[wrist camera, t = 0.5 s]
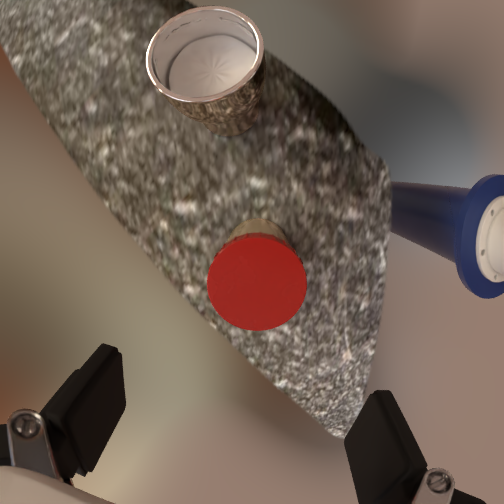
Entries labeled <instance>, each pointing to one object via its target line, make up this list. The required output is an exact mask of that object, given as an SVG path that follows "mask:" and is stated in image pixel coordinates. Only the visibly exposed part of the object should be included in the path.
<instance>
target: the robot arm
mask: <svg viewBox="0 0 504 504" xmlns="http://www.w3.org/2000/svg"><path fill="white" fill-rule="evenodd" d="M476 258H477V263H478V266H479V269H480V271H481V273H482V274H483V275H484V277H485V278H487V279H489V280H490V281H492V282H502V281H504V196H499V197H497V198H495V199H494V200H493V201H491V203H490V204H489V205H488V206H487V208H486V210H485V211H484V213H483V215H482V218H481V220H480V223H479V227H478V231H477V236H476ZM125 406H126V398H125V388H124V378H123V366H122V354H121V353H119V352H118V349H117V348H116V347H113V346H110V345H107V344H104V343H103V344H101V345H100V346H99V347H98V349H97V350H96V351H95V352H94V353H93V354H92V355H91V357H90V358H89V359H88V360H87V361H86V362H85V364H84V365H83V366H82V367H81V368H80V369H77V370H75V371H74V372H73V373H72V374H71V375H70V376H69V378H68V379H67V380H66V381H65V383H64V384H63V385H62V386H61V387H60V388H59V390H58V391H57V392H56V393H55V394H54V396H53V397H52V398H51V399H50V400H49V402H48V403H47V404H46V405H45V407H44V408H43V409H42V410H41V412H40V413H37V412H36V411H34V410H31V409H20V410H17V411H15V412H13V413H12V414H11V415H10V416H9V418H8V420H7V424H1V425H0V504H114V503H112V502H109V501H106V500H104V499H101V498H99V497H96V496H94V495H91V494H89V493H87V492H84V491H82V490H80V489H77V488H75V487H74V484H73V482H72V479H71V478H73V477H74V475H75V473H78V474H80V475H82V476H84V477H85V476H86V474H87V472H88V471H89V472H92V471H93V470H94V468H95V466H96V464H97V462H98V460H99V458H100V456H101V454H102V452H103V450H104V448H105V446H106V444H107V442H108V441H109V439H110V437H111V435H112V433H113V431H114V429H115V427H116V425H117V423H118V421H119V419H120V418H121V416H122V414H123V412H124V410H125ZM344 445H345V449H346V453H347V457H348V461H349V465H350V469H351V473H352V477H353V481H354V485H355V489H356V494H357V498H358V502H359V504H486V503H485V502H484V501H483V500H481V499H479V498H476V497H474V496H471V495H469V494H466V493H464V492H461V491H459V490H457V489H455V488H454V485H455V482H454V478H453V477H452V475H451V474H450V473H449V472H448V471H446V470H444V469H442V468H432V469H430V470H427V468H426V467H427V463H426V461H425V458H424V456H423V454H422V452H421V450H420V448H419V446H418V444H417V442H416V440H415V438H414V436H413V434H412V432H411V430H410V428H409V426H408V424H407V422H406V420H405V418H404V416H403V414H402V412H401V410H400V408H399V406H398V404H397V402H396V400H395V398H394V396H393V394H392V393H391V391H389V390H376V391H374V393H373V394H370V395H369V397H368V399H367V401H366V402H365V404H364V406H363V408H362V410H361V412H360V413H359V415H358V417H357V419H356V420H355V422H354V424H353V425H352V427H351V429H350V430H349V432H348V434H347V435H346V437H345V440H344Z"/></svg>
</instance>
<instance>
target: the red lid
mask: <svg viewBox="0 0 504 504" xmlns="http://www.w3.org/2000/svg"><path fill="white" fill-rule="evenodd" d="M302 264H303V262H302V260H301V258H299V257H298V255H297V253H296V251H295V249H294V248H292V247H291V246H290V245H289V244H288V243H286V242H285V240H282V239H280V238H279V237H276V236H274V234H272V235H271V234H267V233H261V232H259V233H248V232H247V233H246V234H243V235H240V236H238V237H236V236H235V237H234V239H232V240H230V241H229V242H228V243H226V244H224V245H223V247H222V248H221V250H220V251H219V252H218V253H216V255H215V257H214V261H213V263H212V264H211V266H210V267H209V273H208V277H207V290H208V295H209V298H210V301H211V303H212V305H213V307H214V308H215V310H216V311H217V312H218V314H219V315H220V316H221V317H222V318H223V319H225V320H226V321H227V322H229V323H230V324H232V325H234V326H236V327H239V328H242V329H246V330H253V331H261V330H268V329H272V328H275V327H278V326H280V325H282V324H284V323H285V322H287V321H288V320H289V319H291V318H292V317H293V316H294V315H295V314H296V312H297V311H298V310H299V308H300V307H301V305H302V303H303V301H304V298H305V295H306V290H307V279H306V276H307V275H306V273H305V270H304V267H303V265H302Z"/></svg>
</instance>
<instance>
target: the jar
mask: <svg viewBox="0 0 504 504" xmlns="http://www.w3.org/2000/svg"><path fill="white" fill-rule="evenodd" d="M247 232H248V233H259V232H261V233H267V234H271V235H272V234H274V236H276V237H279V238H280V239H282V240H285V242H286V243H288V244H289V242H288V240H287V238H286V236H285V234H284V232H283V231H282V230H281V228H280V227H279V226H277V225H276V224H275V223H273V222H271V221H269V220H266V219H260V218H255V219H249V220H246V221H244V222H242V223H240V224H239V225H238V226H237V227H236V228H235V229H234V230H233V231H232V232H231V234H230V236H229V238H228V240H227V242H226V243H228V242H229V241H230V240H232V239H234V237H235V236H236V237H238V236H240V235H243V234H246V233H247Z"/></svg>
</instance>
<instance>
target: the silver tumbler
mask: <svg viewBox="0 0 504 504" xmlns="http://www.w3.org/2000/svg"><path fill="white" fill-rule="evenodd" d="M146 69H147V73H148V76H149V78H150V80H151V82H152V83H153V85H154V86H155V87H156V88H157V89H158V90H159V91H160V92H161V93H162V94H163V96H164V97H165V98H166V99H167V100H168V102H169V103H170V104H172V105H173V106H174V107H175V108H176V109H177V110H178V111H179V112H181V113H182V114H184V115H185V116H187V117H189V118H190V119H192V120H195V121H198V122H201V123H203V124H204V125H205V127H206V128H207V129H208V130H210V131H211V132H213V133H214V134H217V135H220V136H236V135H239V134H242V133H244V132H245V131H247V130H248V129H249V128H250V127H251V126H252V125H253V124H254V122H255V121H256V119H257V116H258V113H259V103H258V100H259V98H260V96H261V94H262V92H263V89H264V84H265V79H266V61H265V54H264V44H263V38H262V36H261V33H260V31H259V29H258V27H257V26H256V24H255V23H254V22H253V21H252V20H251V19H250V18H249V17H247V16H246V15H244V14H243V13H241V12H239V11H237V10H234V9H232V8H228V7H223V6H202V7H196V8H193V9H189V10H186V11H184V12H182V13H180V14H178V15H176V16H174V17H173V18H171V19H170V20H168V21H167V22H166V23H165V24H164V25H163V26H162V27H161V28H160V29H159V30H158V31H157V32H156V34H155V35H154V37H153V38H152V40H151V42H150V44H149V47H148V50H147V54H146Z"/></svg>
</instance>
